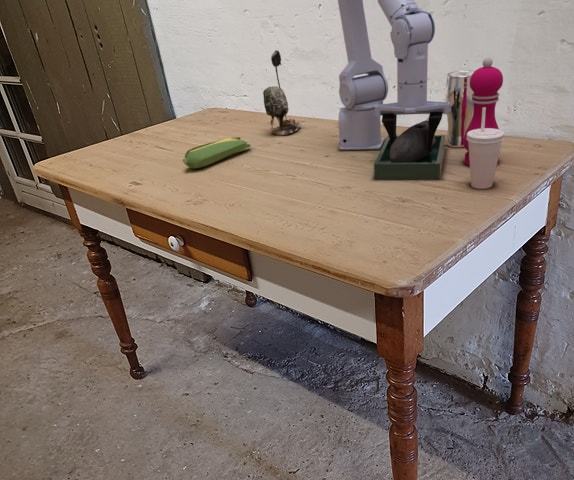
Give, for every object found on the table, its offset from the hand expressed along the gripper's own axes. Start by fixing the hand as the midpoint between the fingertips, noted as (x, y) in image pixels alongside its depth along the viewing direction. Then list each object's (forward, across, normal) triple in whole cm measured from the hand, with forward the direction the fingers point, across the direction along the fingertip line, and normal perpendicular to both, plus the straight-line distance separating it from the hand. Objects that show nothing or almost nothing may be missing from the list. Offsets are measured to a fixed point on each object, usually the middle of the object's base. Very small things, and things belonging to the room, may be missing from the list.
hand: (411, 149), depth 118 cm
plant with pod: (+3, -36, +26) cm, 45 cm away
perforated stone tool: (+3, 0, 0) cm, 3 cm away
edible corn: (+3, -45, +4) cm, 45 cm away
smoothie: (+3, +14, -12) cm, 19 cm away
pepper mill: (+3, +14, 0) cm, 14 cm away
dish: (+3, 0, 0) cm, 3 cm away
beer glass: (+3, +9, +14) cm, 17 cm away
